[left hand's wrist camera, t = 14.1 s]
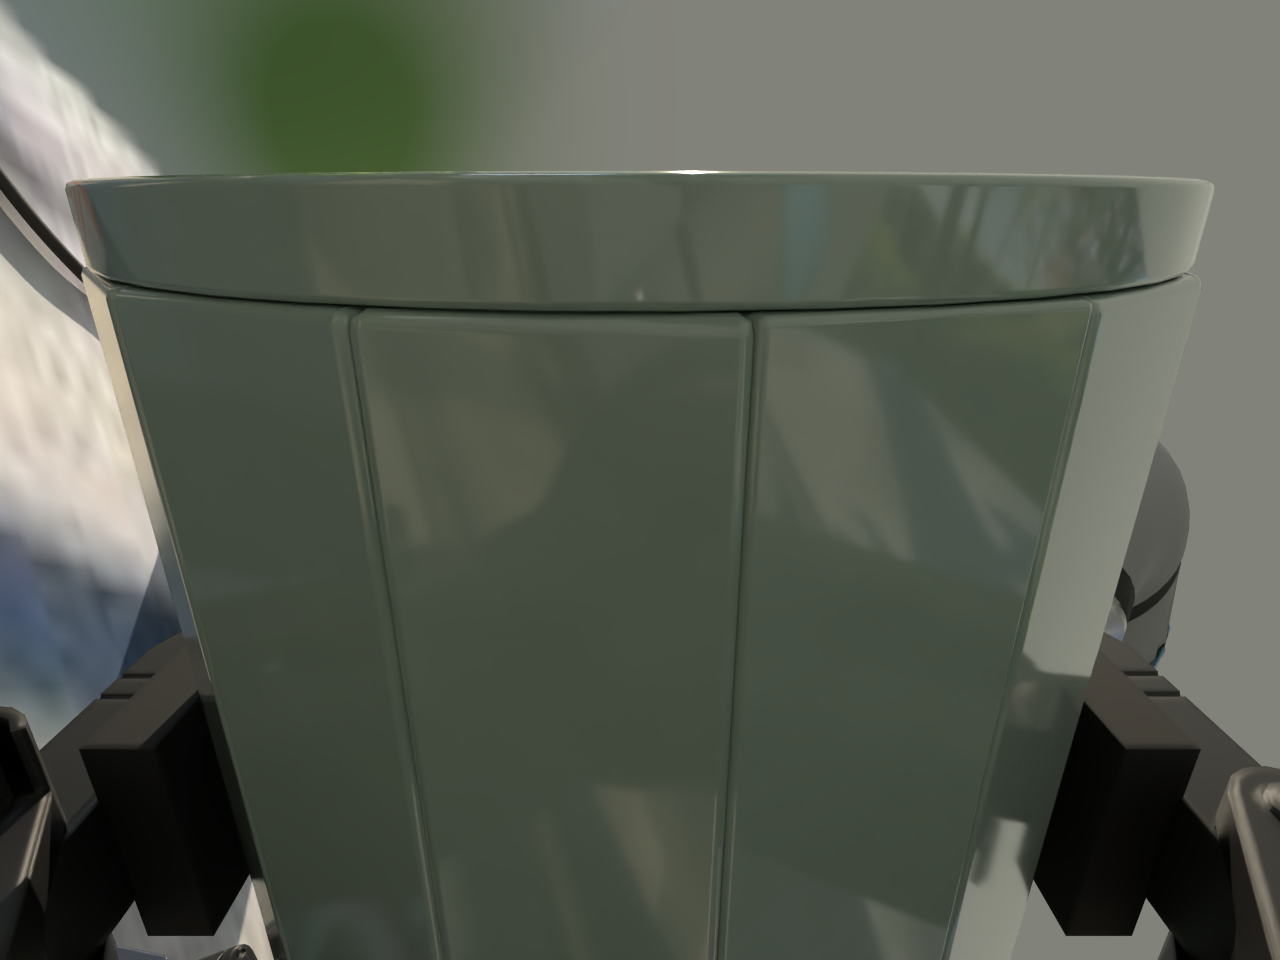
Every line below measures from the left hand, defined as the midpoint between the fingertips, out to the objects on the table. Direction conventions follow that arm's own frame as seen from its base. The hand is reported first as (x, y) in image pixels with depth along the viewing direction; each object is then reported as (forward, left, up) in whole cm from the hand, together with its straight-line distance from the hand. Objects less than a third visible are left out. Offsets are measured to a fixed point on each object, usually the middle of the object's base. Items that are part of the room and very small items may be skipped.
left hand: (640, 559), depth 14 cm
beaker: (-4, -6, +3) cm, 8 cm away
